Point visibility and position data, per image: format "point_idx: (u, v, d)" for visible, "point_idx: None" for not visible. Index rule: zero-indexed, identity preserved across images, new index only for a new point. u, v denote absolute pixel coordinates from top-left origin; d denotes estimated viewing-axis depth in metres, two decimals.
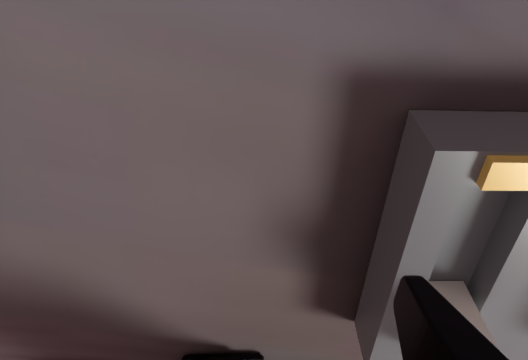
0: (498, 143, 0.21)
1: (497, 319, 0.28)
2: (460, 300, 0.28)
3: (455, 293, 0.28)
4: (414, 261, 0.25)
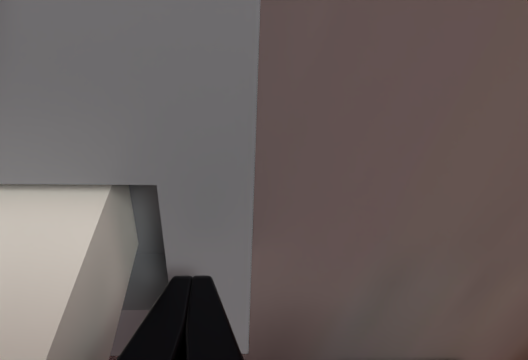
0: None
1: None
2: None
3: None
4: None
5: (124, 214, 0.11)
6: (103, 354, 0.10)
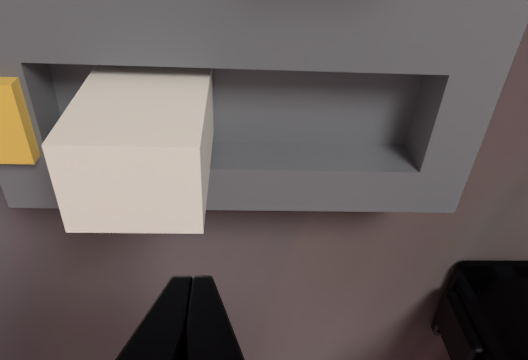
0: None
1: (350, 30, 0.14)
2: None
3: None
4: None
5: (211, 101, 0.17)
6: (207, 177, 0.15)
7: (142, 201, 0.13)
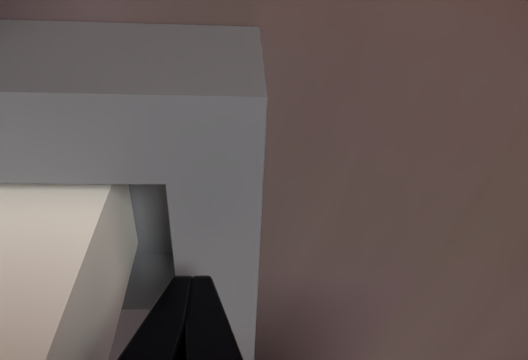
0: None
1: None
2: None
3: None
4: None
5: None
6: None
7: None
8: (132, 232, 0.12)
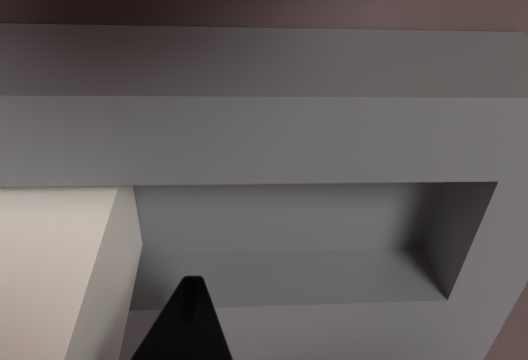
0: None
1: None
2: None
3: None
4: None
5: None
6: None
7: None
8: (137, 233, 0.12)
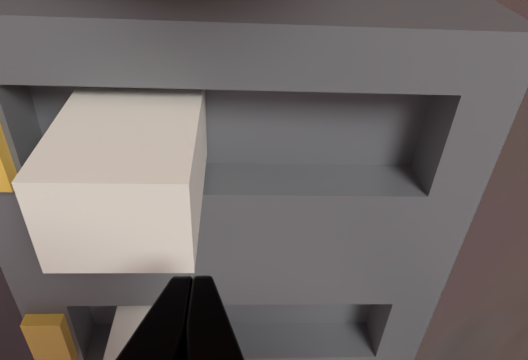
0: None
1: (315, 283, 0.19)
2: None
3: None
4: None
5: None
6: None
7: None
8: (206, 141, 0.16)
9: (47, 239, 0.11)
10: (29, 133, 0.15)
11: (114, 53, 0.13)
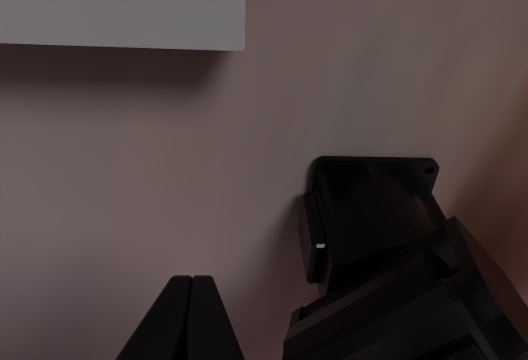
0: None
1: None
2: None
3: None
4: None
5: None
6: None
7: None
8: None
9: None
10: None
11: None
